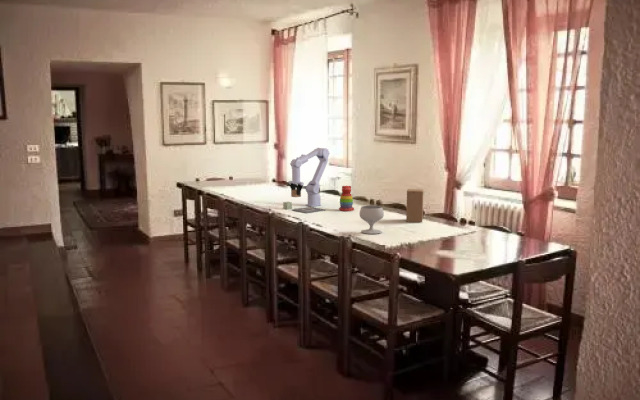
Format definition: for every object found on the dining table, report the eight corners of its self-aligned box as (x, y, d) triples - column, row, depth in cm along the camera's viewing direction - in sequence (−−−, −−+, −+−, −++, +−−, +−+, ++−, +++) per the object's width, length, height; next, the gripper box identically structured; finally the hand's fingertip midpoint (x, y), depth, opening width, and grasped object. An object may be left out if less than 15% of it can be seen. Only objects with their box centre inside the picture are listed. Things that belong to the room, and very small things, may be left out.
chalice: (362, 235, 318) (363, 209, 316) (356, 230, 332) (356, 205, 330) (386, 234, 321) (387, 208, 319) (379, 229, 335) (379, 204, 332)
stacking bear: (354, 209, 405) (354, 184, 402) (353, 211, 395) (353, 186, 392) (339, 209, 406) (339, 184, 403) (338, 211, 396) (338, 186, 393)
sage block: (288, 208, 410) (288, 201, 409) (291, 209, 407) (291, 202, 406) (283, 209, 407) (283, 202, 406) (287, 209, 404) (287, 202, 403)
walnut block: (296, 195, 414) (296, 189, 413) (300, 196, 411) (300, 189, 410) (291, 196, 411) (291, 189, 410) (295, 197, 407) (295, 190, 406)
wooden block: (422, 222, 355) (423, 191, 352) (406, 222, 357) (406, 190, 354) (422, 219, 365) (423, 189, 361) (407, 219, 367) (407, 188, 363)
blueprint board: (310, 207, 412) (310, 206, 412) (325, 210, 401) (325, 209, 401) (291, 210, 400) (291, 209, 400) (306, 213, 389) (306, 212, 389)
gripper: (285, 175, 411) (285, 193, 413) (298, 177, 401) (298, 195, 403) (293, 174, 416) (293, 192, 418) (305, 176, 405) (305, 194, 407)
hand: (296, 194), depth 411 cm, fingers closed on walnut block, 5 cm apart
